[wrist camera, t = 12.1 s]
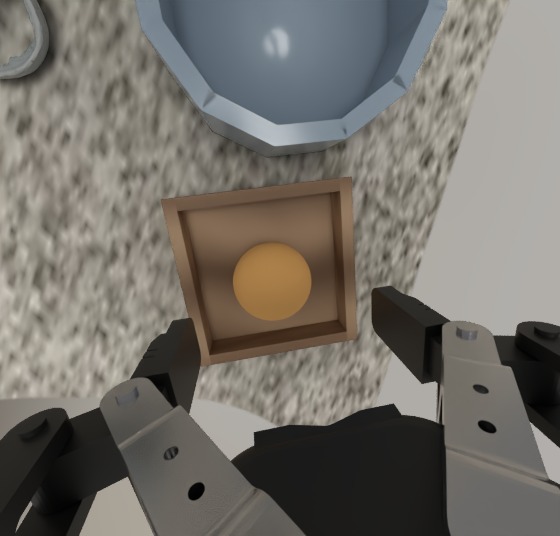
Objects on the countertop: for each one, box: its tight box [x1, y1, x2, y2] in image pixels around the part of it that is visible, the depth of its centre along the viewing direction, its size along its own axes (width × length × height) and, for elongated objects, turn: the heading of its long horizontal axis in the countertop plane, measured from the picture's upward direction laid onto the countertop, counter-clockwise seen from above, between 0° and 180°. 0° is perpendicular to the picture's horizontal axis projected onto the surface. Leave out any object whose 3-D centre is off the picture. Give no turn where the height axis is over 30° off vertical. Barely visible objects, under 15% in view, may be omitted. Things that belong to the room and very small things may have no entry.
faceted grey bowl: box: [135, 0, 447, 157], centre depth 15 cm, size 15×15×5 cm
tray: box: [161, 177, 357, 367], centre depth 20 cm, size 12×12×3 cm
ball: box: [233, 242, 311, 321], centre depth 18 cm, size 5×5×5 cm
